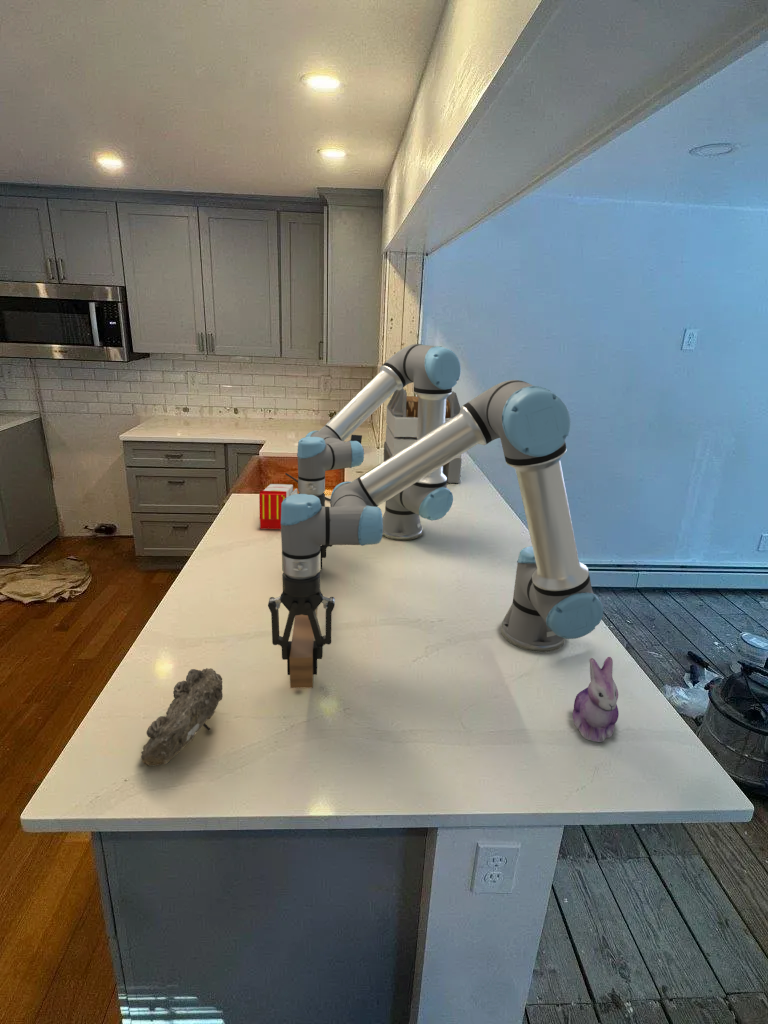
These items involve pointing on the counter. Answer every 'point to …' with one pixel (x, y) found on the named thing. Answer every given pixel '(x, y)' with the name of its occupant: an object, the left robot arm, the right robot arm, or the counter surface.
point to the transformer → (415, 428)
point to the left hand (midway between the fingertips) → (311, 567)
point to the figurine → (597, 703)
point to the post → (302, 653)
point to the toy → (273, 504)
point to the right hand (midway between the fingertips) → (302, 670)
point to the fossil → (183, 716)
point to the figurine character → (356, 438)
